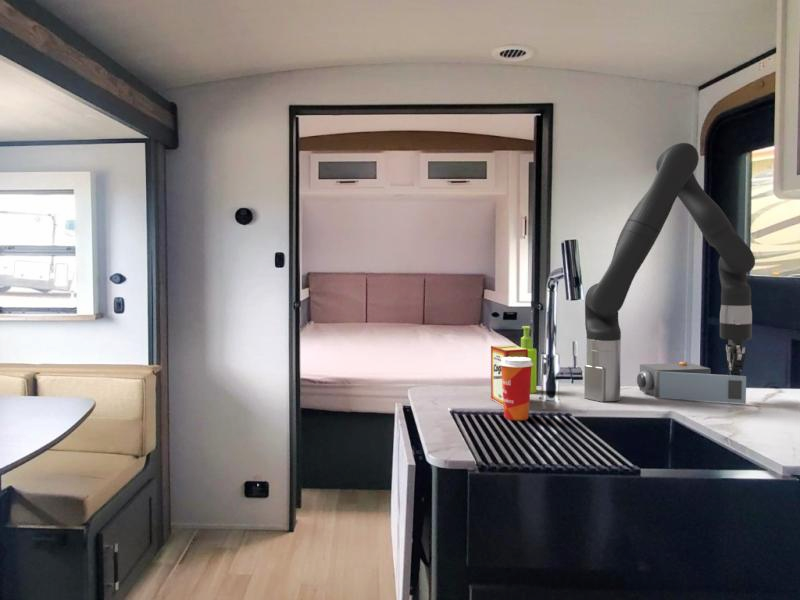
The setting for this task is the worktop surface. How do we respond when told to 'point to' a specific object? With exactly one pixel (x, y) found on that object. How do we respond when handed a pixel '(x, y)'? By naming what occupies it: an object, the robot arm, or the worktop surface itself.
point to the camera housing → (648, 371)
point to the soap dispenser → (530, 356)
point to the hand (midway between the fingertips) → (734, 383)
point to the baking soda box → (496, 373)
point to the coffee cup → (516, 387)
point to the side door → (700, 387)
